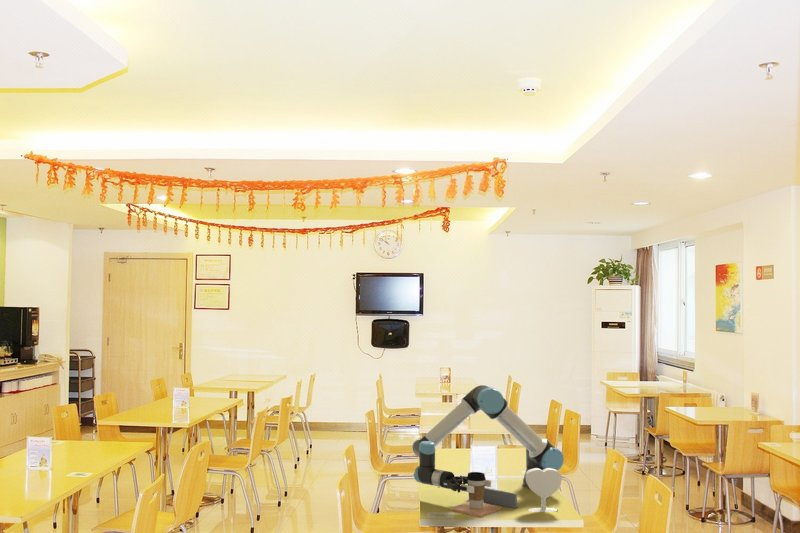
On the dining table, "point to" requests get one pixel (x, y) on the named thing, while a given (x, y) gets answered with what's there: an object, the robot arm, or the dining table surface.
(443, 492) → the dining table surface
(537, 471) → the heart sculpture
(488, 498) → the gray rectangular board
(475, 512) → the terracotta tile
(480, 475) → the coffee cup
